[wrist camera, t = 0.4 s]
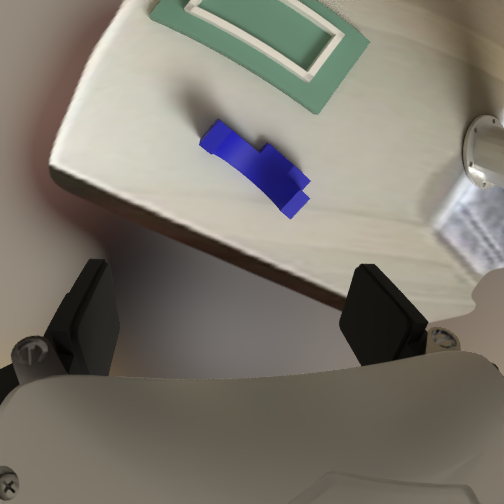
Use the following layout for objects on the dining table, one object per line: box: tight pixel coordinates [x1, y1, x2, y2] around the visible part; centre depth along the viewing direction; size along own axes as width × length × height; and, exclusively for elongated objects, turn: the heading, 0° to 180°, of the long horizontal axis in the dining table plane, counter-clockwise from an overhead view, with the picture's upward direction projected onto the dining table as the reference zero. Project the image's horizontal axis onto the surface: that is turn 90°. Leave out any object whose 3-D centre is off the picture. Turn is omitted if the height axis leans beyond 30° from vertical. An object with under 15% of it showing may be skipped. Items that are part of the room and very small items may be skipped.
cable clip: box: [199, 119, 310, 219], centre depth 31 cm, size 12×4×6 cm, turn 48°
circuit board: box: [149, 0, 370, 115], centre depth 25 cm, size 22×12×3 cm, turn 57°
